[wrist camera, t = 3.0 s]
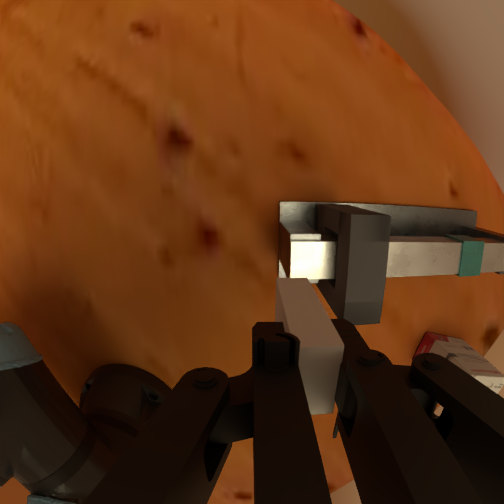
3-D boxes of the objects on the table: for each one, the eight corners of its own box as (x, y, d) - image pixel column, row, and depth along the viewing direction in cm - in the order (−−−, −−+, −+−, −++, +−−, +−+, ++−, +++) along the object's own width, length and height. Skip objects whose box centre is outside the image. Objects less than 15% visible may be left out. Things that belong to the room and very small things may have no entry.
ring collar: (315, 283, 31) (342, 325, 21) (318, 203, 29) (351, 214, 20) (342, 282, 31) (379, 323, 21) (347, 204, 29) (391, 215, 20)
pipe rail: (278, 274, 34) (289, 309, 25) (279, 201, 32) (292, 209, 23) (466, 269, 34) (511, 292, 25) (472, 210, 33) (522, 221, 23)
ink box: (410, 360, 37) (450, 410, 26) (425, 330, 36) (472, 375, 25) (449, 366, 38) (489, 409, 26) (463, 339, 37) (509, 378, 25)
